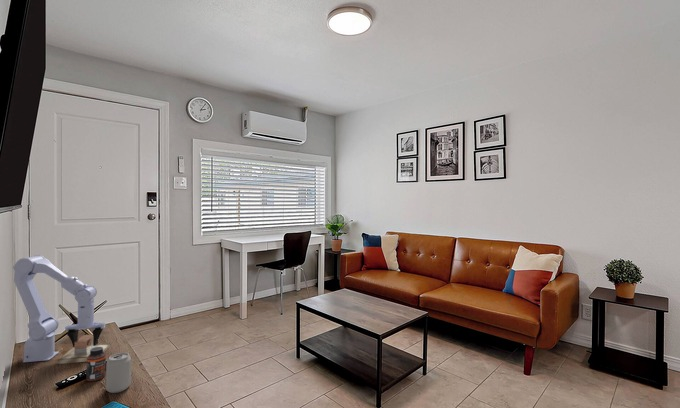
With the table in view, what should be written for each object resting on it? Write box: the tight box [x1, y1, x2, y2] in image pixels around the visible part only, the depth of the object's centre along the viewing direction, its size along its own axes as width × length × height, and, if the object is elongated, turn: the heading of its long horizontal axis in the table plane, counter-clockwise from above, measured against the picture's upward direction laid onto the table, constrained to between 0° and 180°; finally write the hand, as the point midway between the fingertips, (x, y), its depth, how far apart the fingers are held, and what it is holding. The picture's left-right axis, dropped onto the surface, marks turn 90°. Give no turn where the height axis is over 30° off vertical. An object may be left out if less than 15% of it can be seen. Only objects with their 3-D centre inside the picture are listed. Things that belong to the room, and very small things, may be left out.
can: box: [105, 352, 132, 394], centre depth 123 cm, size 8×8×12 cm
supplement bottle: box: [85, 347, 107, 382], centre depth 130 cm, size 6×6×11 cm
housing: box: [74, 334, 95, 356], centre depth 149 cm, size 4×8×6 cm, turn 15°
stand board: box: [57, 343, 111, 365], centre depth 149 cm, size 14×14×2 cm
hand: (85, 345), depth 149 cm, fingers open, 7 cm apart
